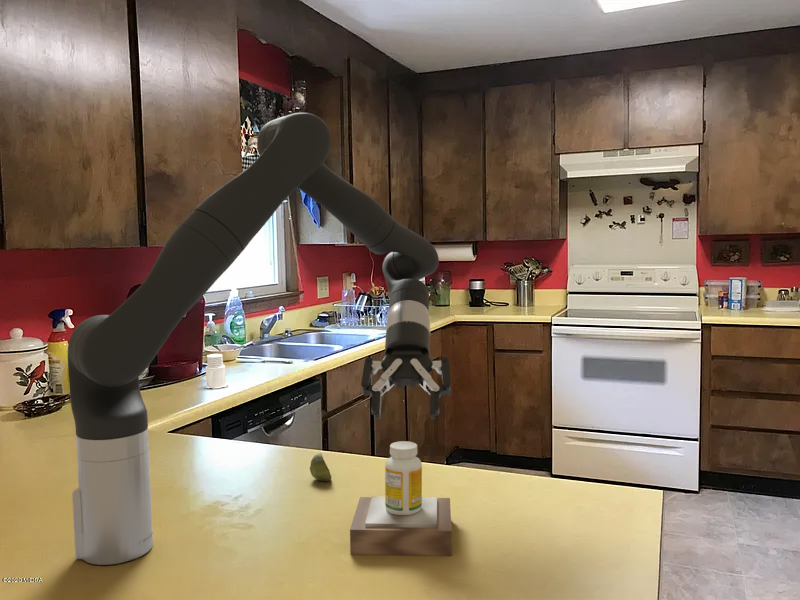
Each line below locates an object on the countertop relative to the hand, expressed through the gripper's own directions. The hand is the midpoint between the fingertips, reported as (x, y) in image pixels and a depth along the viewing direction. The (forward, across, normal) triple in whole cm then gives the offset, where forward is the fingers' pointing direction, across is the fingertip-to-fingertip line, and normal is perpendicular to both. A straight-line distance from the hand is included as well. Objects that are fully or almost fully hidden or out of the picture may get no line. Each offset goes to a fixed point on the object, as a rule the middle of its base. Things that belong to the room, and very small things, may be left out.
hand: (405, 416), depth 103 cm
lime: (0, -16, +23) cm, 28 cm away
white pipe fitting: (-57, -64, +80) cm, 117 cm away
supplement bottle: (+13, 0, +4) cm, 14 cm away
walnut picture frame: (+16, 0, +7) cm, 18 cm away
